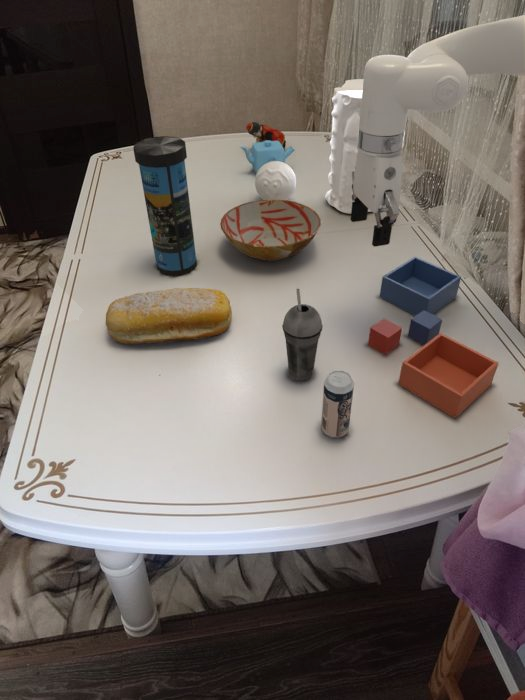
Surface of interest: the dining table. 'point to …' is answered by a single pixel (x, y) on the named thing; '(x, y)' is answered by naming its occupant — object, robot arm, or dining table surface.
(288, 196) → the decorative ball
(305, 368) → the beverage cup
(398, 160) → the robot arm
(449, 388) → the orange bin
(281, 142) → the figurine
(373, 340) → the red block
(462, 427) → the dining table surface
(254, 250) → the bowl
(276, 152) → the teapot
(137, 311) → the bread
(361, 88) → the vase
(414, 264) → the blue bin
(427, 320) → the blue block
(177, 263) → the advertising column
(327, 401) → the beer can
